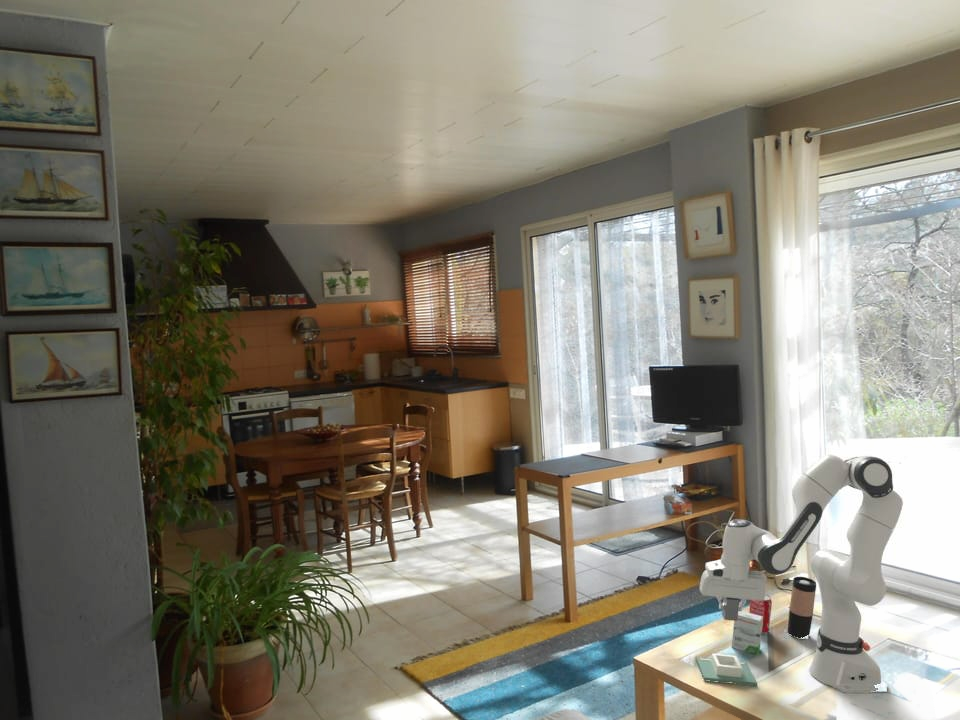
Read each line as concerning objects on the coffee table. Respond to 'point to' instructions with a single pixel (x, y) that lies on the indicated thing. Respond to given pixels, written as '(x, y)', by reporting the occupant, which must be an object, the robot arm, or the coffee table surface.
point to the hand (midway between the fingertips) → (730, 609)
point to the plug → (730, 609)
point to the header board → (726, 670)
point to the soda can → (762, 611)
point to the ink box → (747, 632)
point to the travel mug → (801, 606)
